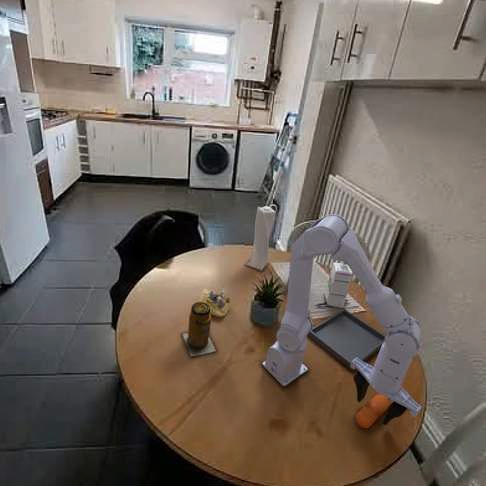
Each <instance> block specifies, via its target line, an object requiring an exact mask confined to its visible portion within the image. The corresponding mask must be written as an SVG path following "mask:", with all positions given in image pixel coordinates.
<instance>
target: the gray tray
mask: <svg viewBox="0 0 486 486" xmlns="http://www.w3.org/2000/svg"><path fill="white" fill-rule="evenodd" d="M307 336H308V337H309V338H310V339H312V340H313V341H314V342H315V343H317V344H318V345H319V346H320V347H321V348H322V349H324V350H325V351H326V352H327V353H329V354H330V355H332V356H333V357H334V358H335V359H337V361H339V362H340V363H342V365H344V366H345V367H346V368H348V369H349V370H350V371H351V372H353V371H355V370H354V369H353V368H351V367H350V366H351V363H352V361H353V360H354V359H355V358H358V359H360V360H361V361H363V362H366V361H367V360H368V359H370V358H371V357H372V356H373V355H375V354H376V353H377V352H378V351H380V349H381V346H382V344H383V343H384V342H385V337H386V336H387V335H385V334H383V332H380V331H379V330H378V329H376V328H375V327H373V326H371V325H370V324H369V323H367V322H365V321H364V320H362V319H361V318H360V317H358V316H356V315H355V314H353V313H352V312H350V311H349V310H347V309H346V308H342V309H341V310H340V311H338V312H337V313H334V314H333V315H331V316H329V317H328V318H326V319H325V320H323V321H321V322H320V323H318V324H316V325H315V326H313V327H312V329H311V331H309V333H308V335H307Z"/></svg>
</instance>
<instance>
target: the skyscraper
mask: <svg viewBox="0 0 486 486" xmlns="http://www.w3.org/2000/svg"><path fill="white" fill-rule="evenodd" d="M272 206H274V207H275V210H274V209H273V208H272ZM277 211H278V207H277V205H276V204H274V203H272V204H270V205H269V206H267V205H265V206H263V207H260V206H257V209H256V214H255V220H254V221H255V222H254V241H253V245H252V250H251V255H250V260H249V261H248V262H247V263H246V264H245V266H246V267H249V268H252V269H254V270H257V271H260V272H262V271H263V270H264V269H265V268H266V267H267V266H268V264H269V262H268V257H269V250H270V249H269V248H270V247H269V244H270V242H269V241H270V240H269V238H270V236H271V234H272V232H273V228H274V225H275V220H276V214H277Z"/></svg>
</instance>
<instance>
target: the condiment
mask: <svg viewBox="0 0 486 486" xmlns="http://www.w3.org/2000/svg"><path fill="white" fill-rule="evenodd" d="M211 319H212V314H210V306H209V305H208V304H207V303H205V302H198V301H197V302H194V303H193V304H192V305H191V308H190V313H189V317H188V332H187V333H182V337H183V340H184V343H185V345H186V347H187V350H188V353H189V356H190V357H197V356H202V355H207V354H210V353H214V352H216V348H215V347H214V344H213V342H212V340H211V338H210V332H211V323H212V320H211Z"/></svg>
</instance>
